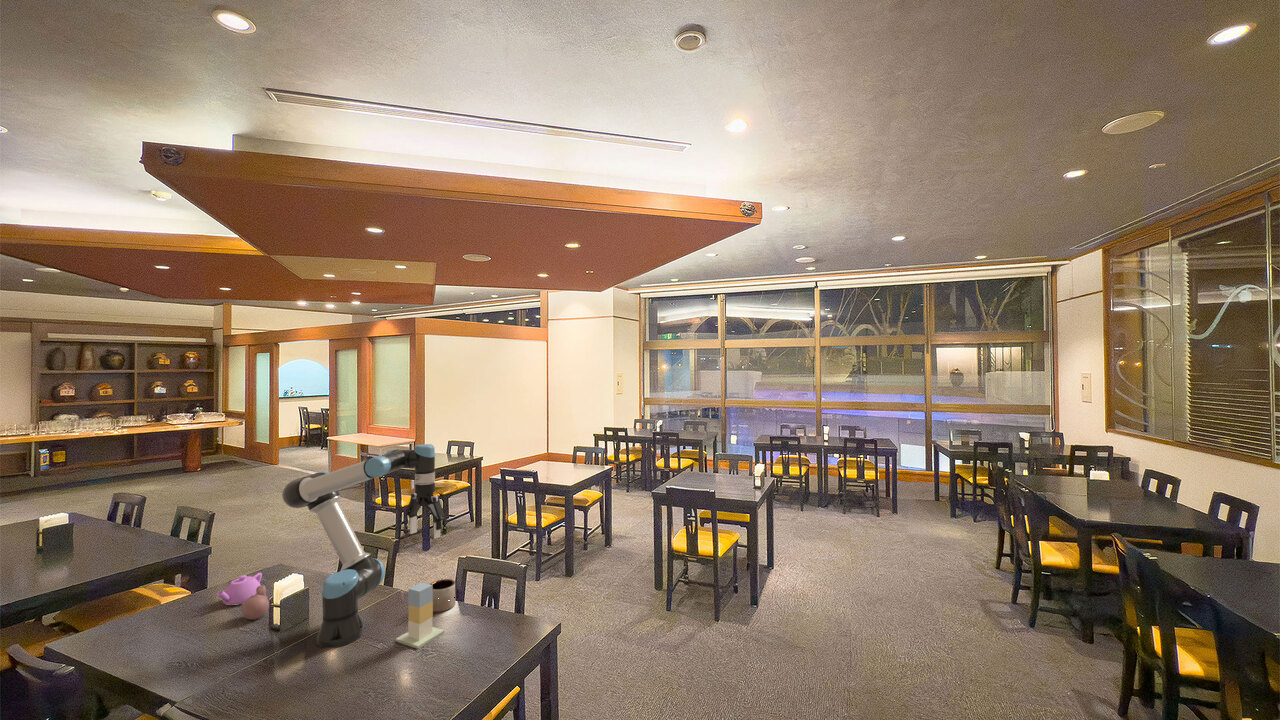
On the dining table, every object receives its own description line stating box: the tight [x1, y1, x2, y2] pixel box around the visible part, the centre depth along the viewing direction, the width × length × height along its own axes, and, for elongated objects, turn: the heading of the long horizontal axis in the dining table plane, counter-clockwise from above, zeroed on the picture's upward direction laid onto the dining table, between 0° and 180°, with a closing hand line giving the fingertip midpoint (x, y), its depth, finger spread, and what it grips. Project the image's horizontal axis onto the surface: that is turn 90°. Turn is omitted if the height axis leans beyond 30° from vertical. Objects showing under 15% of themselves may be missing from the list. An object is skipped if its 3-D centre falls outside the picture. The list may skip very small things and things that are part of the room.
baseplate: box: [395, 617, 445, 650], centre depth 186 cm, size 12×12×7 cm
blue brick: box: [407, 582, 433, 608], centre depth 186 cm, size 6×6×6 cm
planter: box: [430, 578, 456, 613], centre depth 210 cm, size 11×11×10 cm
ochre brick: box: [408, 601, 434, 624], centre depth 186 cm, size 6×6×6 cm
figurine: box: [240, 585, 270, 620], centre depth 202 cm, size 9×11×12 cm
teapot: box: [216, 572, 263, 605], centre depth 218 cm, size 14×20×11 cm
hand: (425, 535), depth 198 cm, fingers open, 13 cm apart
